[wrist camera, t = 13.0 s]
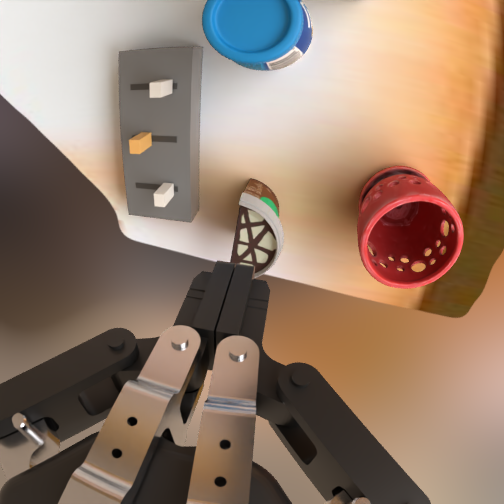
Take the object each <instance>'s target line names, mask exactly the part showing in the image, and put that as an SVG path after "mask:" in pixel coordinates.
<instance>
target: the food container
mask: <svg viewBox="0 0 504 504" xmlns="http://www.w3.org/2000/svg"><path fill="white" fill-rule="evenodd" d="M238 205H240V208H239V216H238V221H237V227H236V233H235V238H234V244H233V250H232V256H231V261H230V263H236V264H244V265H251V266H255V274H254V278H256V277H259V276H260V275H262V274H264V273H265V272H266V271H268V270H269V269H270V268H271V267H272V266H273V265H274V263H275V262H276V260H277V258H278V257H279V255H280V253H281V250H282V248H283V243H284V232H283V228H282V225H281V222H280V220H279V204H278V200H277V198H276V196H275V194H274V193H273V192H272V190H271V189H270V188H269V187H267V186H266V185H265V184H263V183H262V182H260V181H257V180H254V179H250V181H249V183H248V185H247V187H246V189H245V191H244V193H243V192H242V195H241V198H240V202H239V204H238Z"/></svg>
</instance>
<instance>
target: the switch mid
mask: <svg viewBox="0 0 504 504" xmlns="http://www.w3.org/2000/svg"><path fill="white" fill-rule="evenodd" d="M129 146H130V154H141V153H142V152H144V151H145V150H146V149H148V148H149V147H150V146H152V139H151V132H141V133H140V134H138V135H136V136H135V137H133V138H131V139H130V140H129Z"/></svg>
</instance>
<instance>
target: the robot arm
mask: <svg viewBox="0 0 504 504" xmlns="http://www.w3.org/2000/svg"><path fill="white" fill-rule="evenodd" d="M254 274H255V266H251V265H244V264H236V263H230V262H223V261H217V262H216V265H215V267H214V270H213V272H212V273H211V272H204V271H202V272H201V273H200V274H199V275H197V276H196V277H195V278H194V280H193V282H192V284H191V286H190V289H189V291H188V293H187V295H186V298H185V300H184V302H183V305H182V307H181V309H180V311H179V314H178V316H177V318H176V321H175V323H174V325H173V327H170V328H168V329H166V330H165V331H164V332H163V333H162V334H161V336H160V337H156V338H146V339H136V338H135V336H134V334H133V333H131V332H130V331H129V330H127V329H124V328H114V329H110V330H108V331H106V332H104V333H102V334H100V335H98V336H96V337H94V338H92V339H90V340H88V341H86V342H84V343H82V344H80V345H78V346H76V347H74V348H72V349H70V350H68V351H66V352H64V353H62V354H60V355H58V356H56V357H54V358H52V359H50V360H48V361H46V362H44V363H42V364H40V365H38V366H36V367H34V368H32V369H30V370H28V371H26V372H24V373H22V374H20V375H18V376H16V377H14V378H12V379H10V380H8V381H6V382H4V383H2V384H0V464H1V466H2V469H3V472H4V474H5V477H6V479H7V482H6V483H5V484H4V486H3V487H2V489H1V491H0V504H292V503H291V501H290V500H289V498H288V497H287V496H286V494H285V492H284V491H283V489H282V488H281V486H280V485H279V483H278V482H277V480H276V479H275V478H274V477H273V476H272V475H271V474H270V473H269V472H268V471H267V470H266V469H264V468H263V467H262V466H260V465H258V464H257V463H255V462H253V461H252V458H253V445H254V433H255V421H256V415H258V416H260V417H262V418H264V419H267V420H268V421H269V424H270V425H271V427H272V428H273V430H274V431H275V433H276V434H277V436H278V437H279V438H280V440H281V441H282V443H283V444H284V445H285V447H286V448H287V449H288V451H289V452H290V454H291V455H292V456H293V458H294V459H295V461H296V462H297V463H298V465H299V466H300V467H301V469H302V470H303V471H304V472H305V474H306V475H307V477H308V478H309V479H310V481H311V482H312V483H313V484H314V486H315V487H316V488H317V490H318V491H319V492H320V493H321V495H322V496H323V497H324V499H325V500H326V502H325V503H324V504H431V503H430V500H429V498H428V497H427V496H426V495H425V494H424V492H423V491H422V490H421V489H420V488H419V487H418V486H417V485H416V484H415V483H414V481H413V480H412V479H411V478H410V477H409V476H408V475H407V474H406V473H405V472H404V470H403V469H402V468H401V467H400V466H399V465H398V463H397V462H396V461H395V460H394V459H393V458H392V457H391V455H390V454H389V453H388V452H387V451H386V450H385V449H384V448H383V447H382V445H381V444H380V443H379V442H378V441H377V440H376V438H375V437H374V436H373V435H372V434H371V433H370V431H369V430H368V429H367V428H366V427H365V426H364V425H363V423H362V422H361V421H360V420H359V419H358V418H357V417H356V415H355V414H354V413H353V412H352V411H351V409H350V408H349V407H348V406H347V405H346V404H345V402H344V401H343V400H342V399H341V398H340V397H339V395H338V394H337V393H336V392H335V391H334V390H333V388H332V387H331V386H330V385H329V384H328V382H327V381H326V380H325V379H324V378H323V376H322V375H321V374H320V373H319V372H318V371H317V370H316V369H315V368H314V367H312V366H311V365H308V364H305V363H292V364H289V365H287V366H285V365H283V364H280V363H278V362H276V361H274V360H272V359H271V358H270V357H269V356H268V355H267V354H266V353H265V352H264V350H263V347H262V339H263V332H264V327H265V320H266V314H267V308H268V301H269V294H270V289H269V287H268V285H267V282H266V281H263V280H256V279H254ZM207 370H212V377H211V382H210V387H209V393H208V398H207V400H206V401H205V403H204V407H203V412H202V418H201V423H200V429H199V435H198V441H197V446H196V447H184V445H185V442H186V437H187V429H188V426H189V424H190V421H191V418H192V416H193V413H194V411H195V408H196V405H197V403H198V400H199V398H200V395H201V392H202V390H203V387H204V380H205V377H206V373H207ZM104 419H106V420H105V422H104V424H103V426H102V428H101V430H100V432H96V433H94V434H92V435H90V436H88V437H86V438H85V439H83V440H81V441H79V442H77V443H76V444H74V445H72V446H70V447H69V448H67V449H65V450H63V451H61V452H60V453H59V448H60V442H62V441H64V440H66V439H68V438H70V437H72V436H74V435H75V434H78V433H79V432H81V431H83V430H85V429H87V428H89V427H91V426H93V425H95V424H96V423H98V422H100V421H102V420H104Z"/></svg>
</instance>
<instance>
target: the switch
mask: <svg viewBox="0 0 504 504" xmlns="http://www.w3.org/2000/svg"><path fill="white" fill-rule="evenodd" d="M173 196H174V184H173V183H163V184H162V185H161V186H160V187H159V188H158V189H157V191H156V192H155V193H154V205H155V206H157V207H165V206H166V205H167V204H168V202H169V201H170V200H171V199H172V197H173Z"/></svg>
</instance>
